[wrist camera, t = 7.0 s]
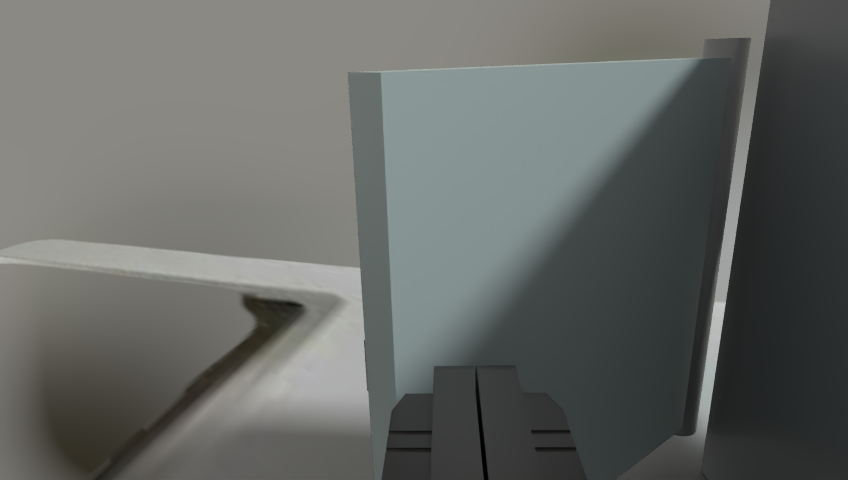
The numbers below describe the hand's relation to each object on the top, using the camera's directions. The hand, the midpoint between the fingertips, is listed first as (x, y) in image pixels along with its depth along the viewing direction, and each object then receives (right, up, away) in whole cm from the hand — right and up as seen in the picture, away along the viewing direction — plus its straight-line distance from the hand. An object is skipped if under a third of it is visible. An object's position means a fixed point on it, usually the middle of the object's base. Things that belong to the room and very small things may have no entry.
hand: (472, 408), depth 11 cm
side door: (+3, -5, +6) cm, 9 cm away
